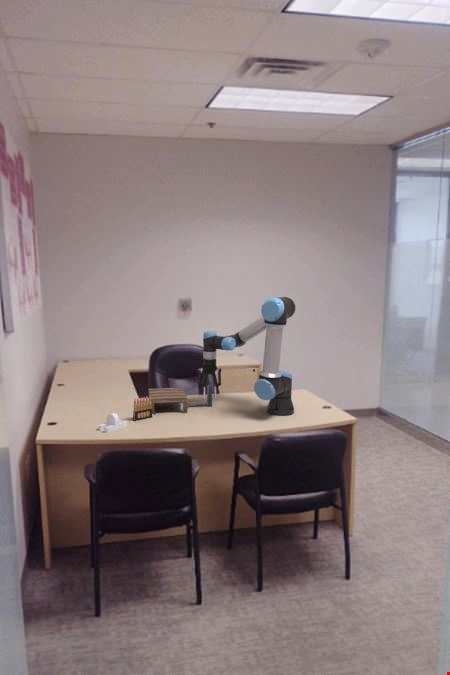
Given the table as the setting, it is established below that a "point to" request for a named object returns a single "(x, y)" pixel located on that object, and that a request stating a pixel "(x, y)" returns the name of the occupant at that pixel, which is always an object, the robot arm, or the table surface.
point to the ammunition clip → (142, 409)
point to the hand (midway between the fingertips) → (209, 397)
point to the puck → (176, 406)
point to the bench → (168, 396)
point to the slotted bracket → (112, 423)
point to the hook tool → (208, 402)
